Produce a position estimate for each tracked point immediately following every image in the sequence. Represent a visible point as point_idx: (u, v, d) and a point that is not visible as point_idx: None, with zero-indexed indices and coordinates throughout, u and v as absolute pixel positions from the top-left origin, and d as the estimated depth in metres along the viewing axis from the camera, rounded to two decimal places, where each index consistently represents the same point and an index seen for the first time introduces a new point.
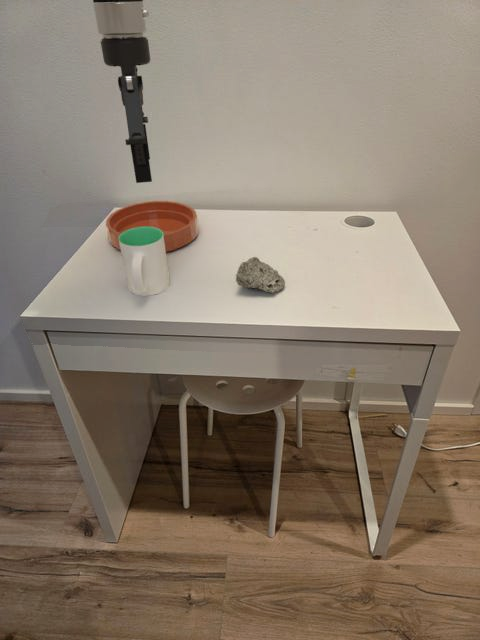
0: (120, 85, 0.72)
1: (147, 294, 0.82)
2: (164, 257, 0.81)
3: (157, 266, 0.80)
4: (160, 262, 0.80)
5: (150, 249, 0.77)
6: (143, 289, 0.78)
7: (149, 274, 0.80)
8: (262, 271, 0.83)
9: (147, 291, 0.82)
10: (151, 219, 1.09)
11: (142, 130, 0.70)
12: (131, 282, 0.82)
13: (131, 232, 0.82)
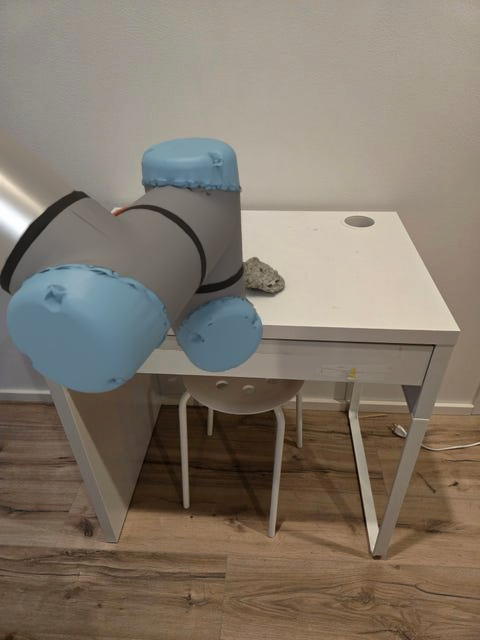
0: None
1: None
2: None
3: None
4: None
5: None
6: None
7: None
8: (262, 271, 0.83)
9: None
10: None
11: None
12: None
13: None
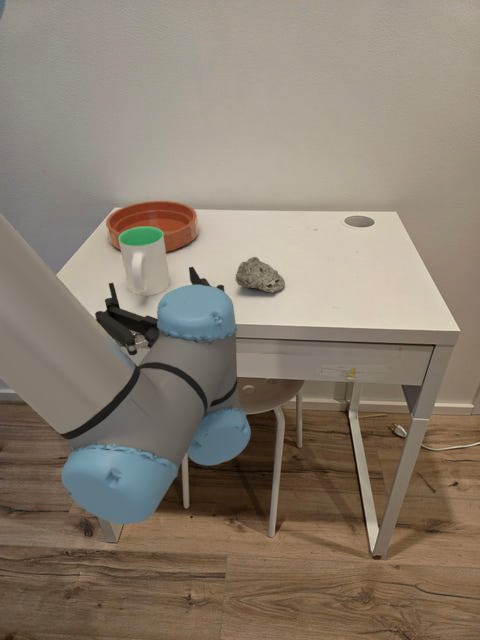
0: (156, 325, 0.61)
1: (147, 294, 0.82)
2: (164, 257, 0.81)
3: (157, 266, 0.80)
4: (160, 262, 0.80)
5: (150, 249, 0.77)
6: (143, 289, 0.78)
7: (149, 274, 0.80)
8: (262, 271, 0.83)
9: (147, 291, 0.82)
10: (151, 219, 1.09)
11: None
12: (131, 282, 0.82)
13: (131, 232, 0.82)
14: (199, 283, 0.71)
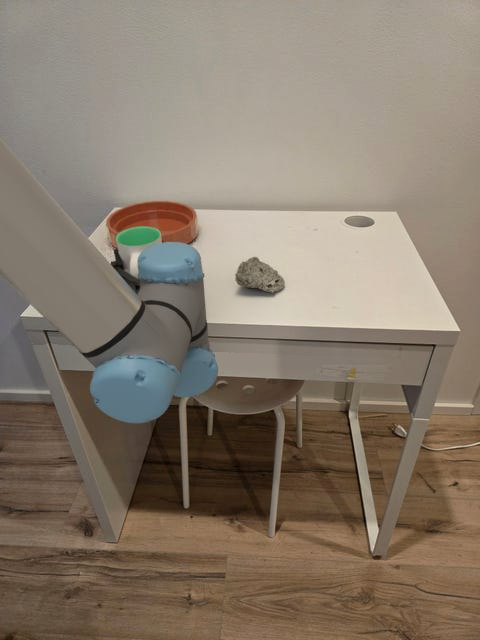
0: None
1: None
2: None
3: None
4: None
5: None
6: None
7: None
8: (262, 271, 0.83)
9: None
10: (151, 219, 1.09)
11: None
12: None
13: (128, 232, 0.82)
14: None
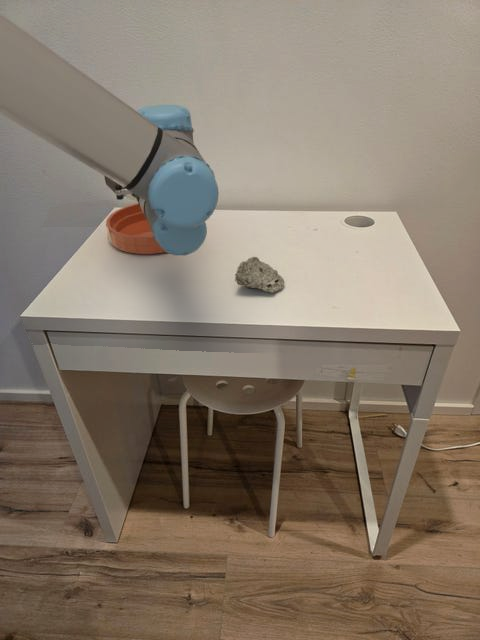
0: None
1: None
2: None
3: None
4: None
5: None
6: None
7: None
8: (262, 271, 0.83)
9: None
10: None
11: (107, 185, 0.82)
12: None
13: None
14: None
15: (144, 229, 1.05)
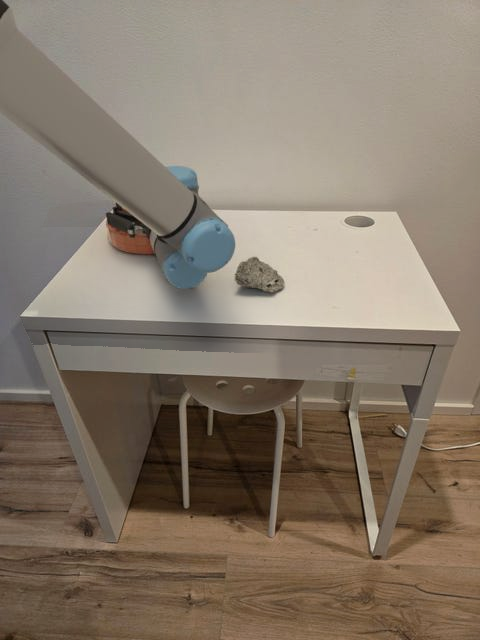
0: None
1: None
2: None
3: None
4: None
5: None
6: None
7: None
8: (261, 271, 0.83)
9: None
10: None
11: (111, 225, 0.92)
12: None
13: None
14: None
15: None
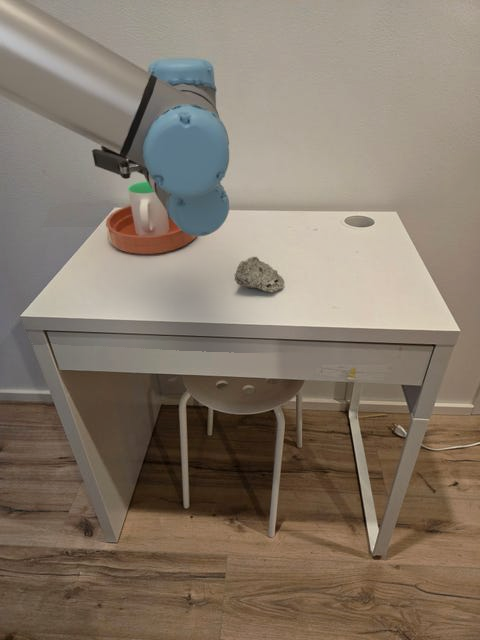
0: None
1: None
2: None
3: (160, 211, 0.99)
4: (162, 208, 0.99)
5: (154, 196, 0.96)
6: (149, 229, 0.97)
7: (153, 218, 0.99)
8: (261, 271, 0.83)
9: (151, 233, 1.01)
10: None
11: (99, 166, 0.72)
12: (138, 226, 1.00)
13: (137, 185, 1.01)
14: None
15: None
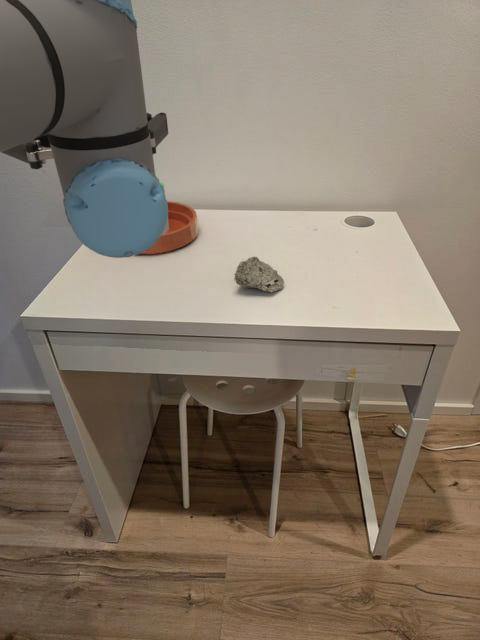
0: None
1: None
2: None
3: None
4: None
5: None
6: None
7: None
8: (261, 271, 0.83)
9: None
10: None
11: (5, 152, 0.51)
12: None
13: None
14: None
15: None
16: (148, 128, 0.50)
